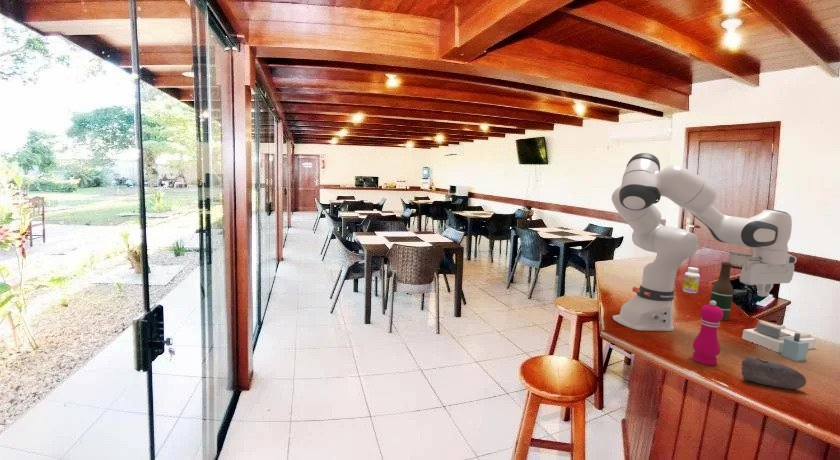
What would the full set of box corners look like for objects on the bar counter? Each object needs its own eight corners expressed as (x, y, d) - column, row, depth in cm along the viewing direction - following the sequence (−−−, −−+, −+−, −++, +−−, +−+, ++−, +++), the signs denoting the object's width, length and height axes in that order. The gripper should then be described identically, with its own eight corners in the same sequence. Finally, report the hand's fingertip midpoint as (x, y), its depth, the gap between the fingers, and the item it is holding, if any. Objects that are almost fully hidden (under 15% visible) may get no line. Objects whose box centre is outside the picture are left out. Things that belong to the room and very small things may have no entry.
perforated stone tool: (800, 388, 116) (805, 365, 115) (807, 397, 111) (812, 373, 110) (735, 374, 123) (739, 352, 122) (739, 381, 118) (743, 359, 117)
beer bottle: (733, 321, 170) (742, 265, 166) (712, 319, 171) (721, 263, 168) (723, 315, 177) (732, 261, 174) (703, 313, 179) (711, 259, 176)
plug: (796, 361, 134) (800, 336, 133) (781, 355, 138) (785, 331, 137) (805, 360, 135) (810, 335, 134) (790, 354, 139) (794, 330, 138)
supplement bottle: (679, 290, 216) (682, 266, 214) (688, 289, 218) (692, 266, 216) (690, 294, 209) (694, 269, 207) (700, 293, 211) (704, 269, 209)
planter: (749, 270, 276) (752, 255, 274) (726, 267, 284) (729, 252, 283) (751, 267, 285) (754, 253, 283) (729, 264, 293) (731, 250, 292)
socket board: (777, 352, 140) (780, 340, 139) (742, 338, 151) (743, 326, 151) (814, 348, 145) (816, 336, 144) (776, 335, 156) (778, 324, 156)
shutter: (776, 338, 143) (778, 329, 142) (756, 331, 149) (757, 322, 149) (790, 337, 145) (792, 328, 144) (769, 329, 151) (771, 321, 151)
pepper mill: (706, 356, 135) (716, 297, 132) (723, 366, 127) (733, 304, 125) (685, 355, 134) (694, 296, 131) (701, 365, 127) (710, 303, 124)
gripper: (756, 259, 135) (750, 300, 137) (800, 258, 140) (793, 297, 142) (737, 255, 141) (731, 294, 143) (780, 254, 146) (773, 292, 148)
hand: (762, 295), depth 142 cm, fingers closed
